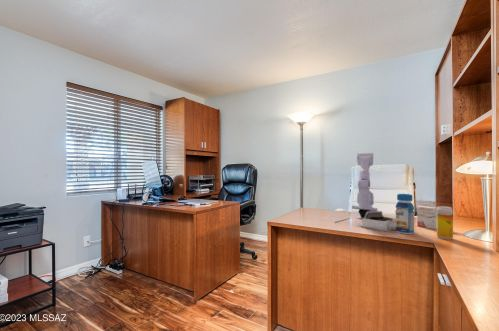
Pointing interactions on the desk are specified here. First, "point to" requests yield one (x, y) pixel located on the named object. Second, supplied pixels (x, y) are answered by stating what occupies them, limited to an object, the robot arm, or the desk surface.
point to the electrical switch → (374, 215)
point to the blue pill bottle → (404, 214)
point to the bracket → (380, 223)
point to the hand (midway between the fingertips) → (364, 222)
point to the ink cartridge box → (426, 214)
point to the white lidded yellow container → (444, 222)
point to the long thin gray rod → (342, 220)
